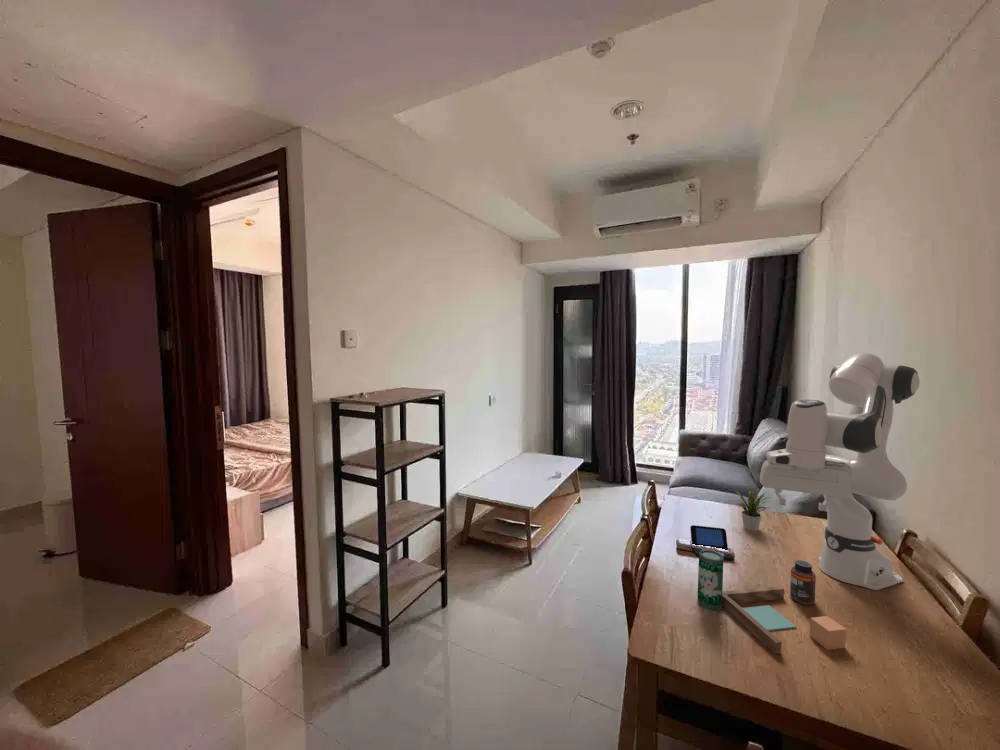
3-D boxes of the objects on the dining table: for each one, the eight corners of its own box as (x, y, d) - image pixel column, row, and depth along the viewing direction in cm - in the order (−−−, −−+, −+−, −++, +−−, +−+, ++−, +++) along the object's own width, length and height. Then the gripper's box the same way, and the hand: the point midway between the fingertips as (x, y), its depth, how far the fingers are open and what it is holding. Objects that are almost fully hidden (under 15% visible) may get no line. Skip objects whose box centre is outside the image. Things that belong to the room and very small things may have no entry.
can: (695, 605, 116) (697, 555, 116) (700, 595, 121) (702, 547, 120) (718, 613, 113) (720, 562, 112) (723, 603, 117) (725, 554, 116)
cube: (826, 634, 105) (827, 615, 104) (845, 648, 100) (846, 629, 100) (809, 635, 104) (810, 617, 104) (827, 650, 99) (828, 631, 99)
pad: (769, 606, 116) (769, 605, 116) (796, 627, 107) (796, 626, 107) (741, 609, 114) (741, 608, 114) (766, 631, 106) (766, 629, 106)
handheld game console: (696, 557, 144) (696, 537, 143) (689, 543, 154) (689, 524, 154) (734, 561, 141) (735, 541, 140) (724, 547, 151) (725, 528, 151)
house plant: (782, 537, 158) (784, 497, 157) (747, 537, 159) (749, 497, 158) (759, 522, 173) (761, 485, 172) (727, 521, 173) (729, 485, 172)
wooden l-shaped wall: (779, 595, 121) (780, 586, 121) (848, 645, 101) (848, 634, 100) (717, 601, 118) (718, 591, 118) (775, 654, 98) (776, 642, 97)
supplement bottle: (809, 595, 121) (811, 560, 120) (818, 607, 115) (820, 570, 115) (786, 592, 123) (788, 556, 122) (793, 603, 117) (795, 566, 116)
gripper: (847, 460, 109) (844, 510, 109) (759, 451, 117) (757, 497, 117) (857, 466, 103) (853, 518, 103) (764, 456, 111) (761, 505, 112)
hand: (801, 507), depth 110 cm, fingers open, 8 cm apart
